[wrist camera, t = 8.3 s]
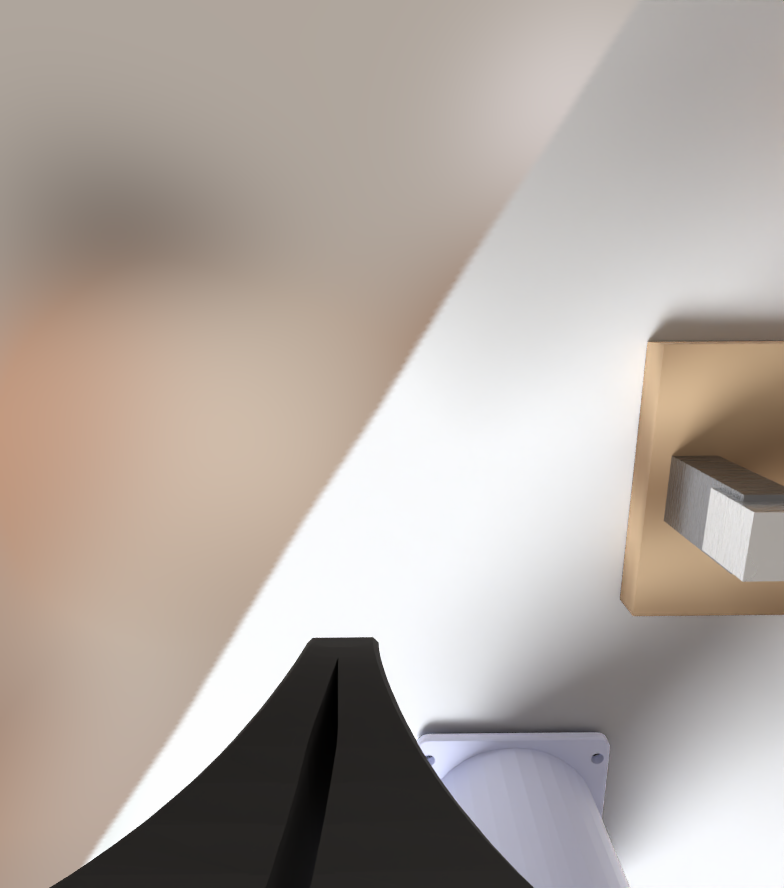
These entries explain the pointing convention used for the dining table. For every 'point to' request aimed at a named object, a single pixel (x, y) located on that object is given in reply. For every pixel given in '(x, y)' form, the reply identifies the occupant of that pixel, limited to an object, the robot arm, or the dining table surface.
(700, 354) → the oak board
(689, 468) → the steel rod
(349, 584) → the dining table surface
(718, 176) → the dining table surface
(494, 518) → the dining table surface
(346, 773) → the robot arm
